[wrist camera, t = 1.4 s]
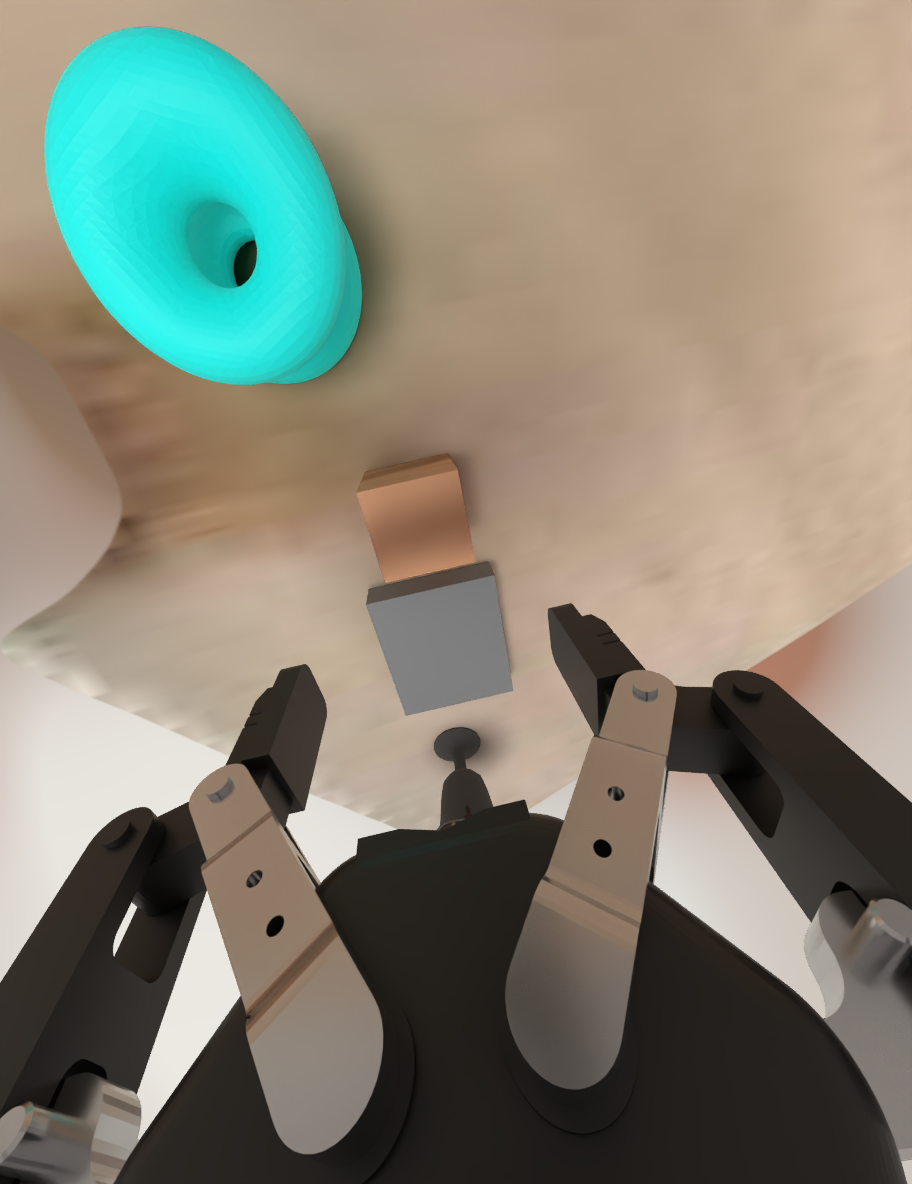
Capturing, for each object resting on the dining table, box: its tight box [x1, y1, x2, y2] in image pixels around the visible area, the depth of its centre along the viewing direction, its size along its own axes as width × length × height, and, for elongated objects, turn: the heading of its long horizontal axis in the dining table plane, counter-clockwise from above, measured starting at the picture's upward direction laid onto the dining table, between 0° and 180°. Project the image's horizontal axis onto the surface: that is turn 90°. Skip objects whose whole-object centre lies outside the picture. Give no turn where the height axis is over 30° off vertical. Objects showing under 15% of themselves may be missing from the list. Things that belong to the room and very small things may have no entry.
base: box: [366, 562, 513, 716], centre depth 34 cm, size 12×10×3 cm
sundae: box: [434, 728, 493, 830], centre depth 35 cm, size 7×7×15 cm
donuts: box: [44, 27, 362, 385], centre depth 18 cm, size 10×10×10 cm
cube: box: [356, 453, 475, 583], centre depth 27 cm, size 6×6×6 cm
